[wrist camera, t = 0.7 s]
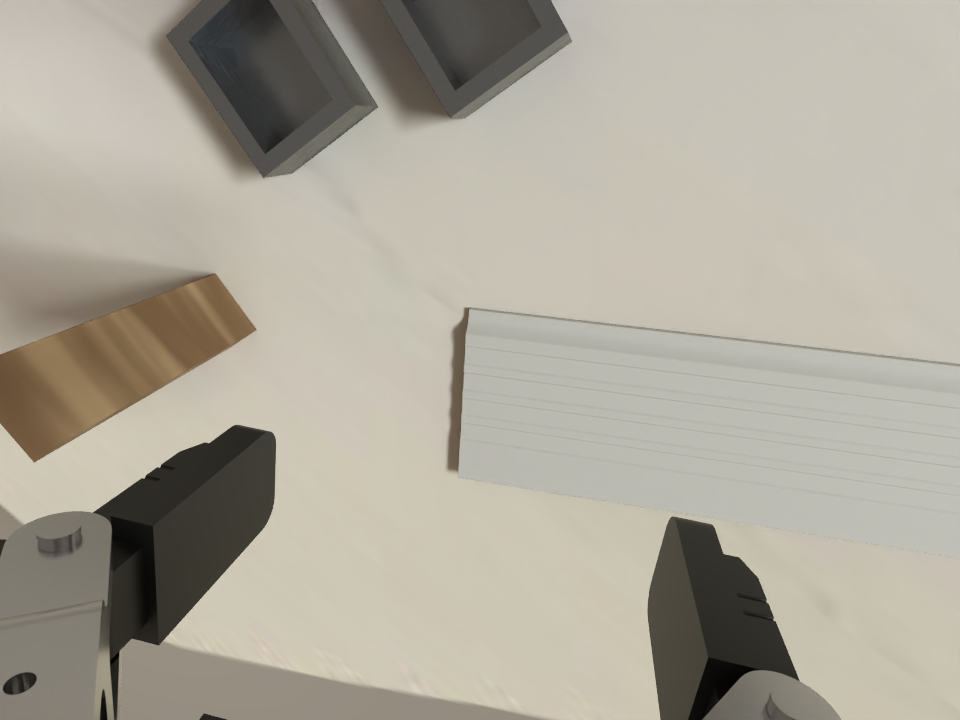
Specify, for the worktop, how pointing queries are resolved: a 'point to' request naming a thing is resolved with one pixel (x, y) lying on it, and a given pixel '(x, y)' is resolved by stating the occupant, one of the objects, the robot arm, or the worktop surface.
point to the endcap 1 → (273, 77)
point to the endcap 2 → (476, 44)
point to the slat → (113, 363)
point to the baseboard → (716, 428)
